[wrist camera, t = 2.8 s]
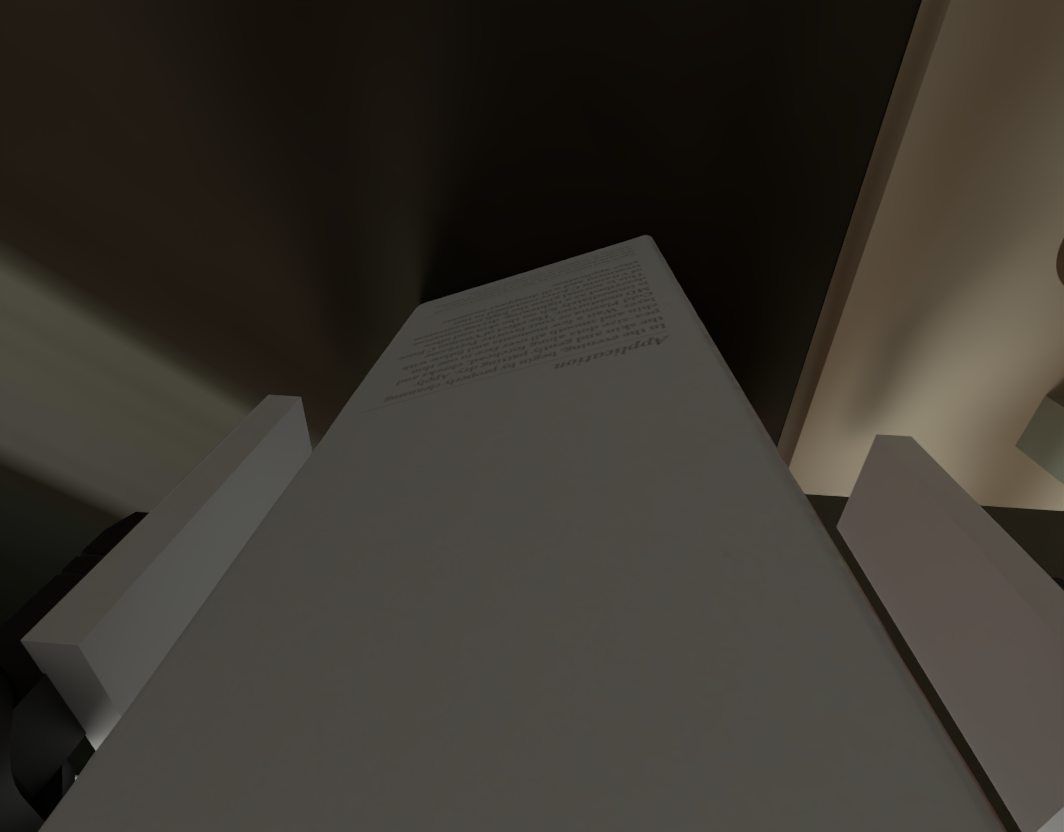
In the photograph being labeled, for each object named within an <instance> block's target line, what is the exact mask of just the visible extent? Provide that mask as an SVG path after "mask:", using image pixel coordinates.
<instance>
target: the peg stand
mask: <svg viewBox="0 0 1064 832" xmlns="http://www.w3.org/2000/svg"><path fill="white" fill-rule="evenodd" d="M876 434H881V435H897V436H912V438H913V439H914V440H915V441H916V442H917V443H918V444H919V445H920V446H921V447H922V448H923V449H924V450H925V451H926V452H927V453H928V454H929V455H930V456H931V457H932V458H933V459H934V460H935V461H936V462H937V463H938V464H939V465H940V466H941V467H942V468H943V469H944V470H945V471H946V472H947V473H948V474H949V475H950V476H951V477H952V478H953V479H954V480H955V481H956V482H957V483H958V484H959V485H960V486H961V487H962V488H963V489H964V490H965V491H966V492H967V493H968V494H969V495H970V496H971V497H972V498H973V499H974V500H975V501H976V502H977V503H978V504H979V505H982V506H998V507H1013V508H1028V509H1043V510H1058V511H1064V0H922V2H921V5H920V8H919V11H918V14H917V17H916V20H915V23H914V26H913V30H912V33H911V36H910V39H909V42H908V45H907V48H906V51H905V54H904V57H903V60H902V63H901V67H900V70H899V73H898V76H897V79H896V82H895V85H894V88H893V91H892V94H891V97H890V100H889V104H888V107H887V110H886V113H885V116H884V119H883V122H882V125H881V128H880V131H879V134H878V137H877V141H876V144H875V147H874V150H873V153H872V156H871V159H870V162H869V165H868V168H867V171H866V174H865V178H864V181H863V184H862V187H861V190H860V193H859V196H858V199H857V202H856V205H855V208H854V211H853V215H852V218H851V221H850V224H849V227H848V230H847V233H846V236H845V239H844V242H843V245H842V248H841V252H840V255H839V258H838V261H837V264H836V267H835V270H834V273H833V276H832V279H831V282H830V285H829V289H828V292H827V295H826V298H825V301H824V304H823V307H822V310H821V313H820V316H819V319H818V322H817V326H816V329H815V332H814V335H813V338H812V341H811V344H810V347H809V350H808V353H807V356H806V359H805V363H804V366H803V369H802V372H801V375H800V378H799V381H798V384H797V387H796V390H795V393H794V396H793V400H792V403H791V406H790V409H789V412H788V415H787V418H786V421H785V424H784V427H783V430H782V433H781V437H780V440H779V443H778V446H777V449H778V451H779V452H780V454H781V456H782V457H783V459H784V461H785V463H786V464H787V466H788V468H789V470H790V472H791V473H792V475H793V476H794V478H795V480H796V481H797V483H798V484H799V486H800V488H801V489H802V491H803V492H804V494H815V495H831V496H846V497H850V495H851V492H852V490H853V488H854V485H855V483H856V481H857V478H858V476H859V474H860V471H861V469H862V467H863V464H864V462H865V460H866V457H867V455H868V453H869V450H870V448H871V446H872V443H873V441H874V439H875V436H876Z"/></svg>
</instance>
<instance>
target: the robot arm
mask: <svg viewBox="0 0 1064 832" xmlns="http://www.w3.org/2000/svg"><path fill="white" fill-rule="evenodd" d="M311 453H312V448H311V444H310V439H309V434H308V429H307V424H306V419H305V414H304V410H303V405H302V400H301V397H295V396H280V395H268V396H267V397H266V398H265V399H264V400H263V401H262V402H261V403H260V404H259V405H258V406H257V407H256V408H255V409H254V410H253V411H252V412H251V413H250V414H249V415H248V416H247V417H246V418H245V419H244V420H243V421H242V422H241V423H240V424H239V425H238V426H237V427H236V428H235V429H234V430H233V431H231V432H230V433H229V434H228V435H227V436H226V437H225V438H224V439H223V440H222V441H221V442H220V443H219V444H218V445H217V446H216V447H215V448H214V449H213V450H212V451H211V452H210V453H209V454H208V455H207V456H206V457H205V458H204V459H203V460H202V461H201V462H200V463H199V464H198V465H197V466H196V467H195V468H194V469H193V470H192V471H191V472H190V473H189V474H188V475H187V476H186V477H185V478H184V479H183V480H182V481H181V482H180V483H179V484H178V485H177V486H176V487H175V488H174V489H173V490H172V491H171V492H170V493H169V494H168V495H167V496H166V497H165V498H164V499H163V500H162V501H161V502H160V503H159V504H158V505H157V506H156V507H155V508H154V509H153V510H152V511H151V512H150V513H145V512H135V513H133V514H131V515H130V516H128V517H126V518H124V519H123V520H121V521H119V522H118V523H116V524H114V525H113V526H111V527H109V528H107V529H106V530H104V531H103V532H102V533H101V534H100V535H99V536H98V537H97V538H96V539H95V540H94V541H93V542H91V543H90V544H89V545H88V546H87V547H86V548H85V549H84V550H83V551H82V552H81V556H80V557H77V556H76V557H75V558H74V559H73V560H72V561H71V562H70V563H69V564H68V565H67V566H66V567H65V568H64V569H62V570H61V571H62V573H61V575H60V576H59V575H56V576H55V577H54V578H53V579H52V580H51V581H50V582H49V583H47V584H46V585H45V586H44V587H43V588H42V589H41V590H40V591H39V592H38V593H37V594H36V595H35V596H34V597H32V598H31V599H30V600H29V601H28V602H27V603H26V604H25V605H24V606H23V607H22V608H21V609H20V610H19V611H17V612H16V613H15V614H14V615H13V616H12V617H11V618H10V619H9V620H8V621H7V622H6V623H5V624H3V625H2V626H1V627H0V832H38V831H39V830H40V828H41V827H42V825H43V824H44V823H45V821H46V820H47V819H48V817H49V816H50V815H51V813H52V812H53V811H54V809H55V808H56V806H57V805H58V804H59V802H60V801H61V800H62V798H63V797H64V796H65V794H66V793H67V792H68V790H69V789H70V787H71V786H72V785H73V783H74V782H75V770H74V768H73V765H72V762H71V759H70V758H69V755H70V754H71V753H72V751H73V750H74V749H75V747H76V746H77V745H78V743H79V742H80V741H81V739H82V738H83V737H84V736H85V735H86V737H87V738H88V740H89V741H90V743H91V744H92V746H93V747H94V749H95V750H97V749H98V748H99V746H100V745H101V744H102V742H103V741H104V740H105V738H106V737H107V736H108V734H109V733H110V732H111V730H112V729H113V728H114V726H115V725H116V724H117V722H118V721H119V720H120V718H121V717H122V716H123V714H124V713H125V711H126V710H127V709H128V707H129V706H130V704H131V703H132V702H133V700H134V699H135V698H136V696H137V695H138V693H139V692H140V691H141V689H142V688H143V687H144V685H145V684H146V682H147V681H148V680H149V678H150V677H151V675H152V674H153V673H154V671H155V670H156V669H157V667H158V666H159V664H160V663H161V662H162V660H163V659H164V657H165V656H166V655H167V653H168V652H169V650H170V649H171V648H172V646H173V645H174V643H175V642H176V641H177V639H178V638H179V636H180V635H181V634H182V632H183V631H184V629H185V628H186V627H187V625H188V624H189V622H190V621H191V620H192V618H193V617H194V615H195V614H196V613H197V611H198V610H199V608H200V607H201V606H202V604H203V603H204V601H205V600H206V599H207V597H208V596H209V594H210V593H211V592H212V590H213V589H214V587H215V586H216V585H217V583H218V582H219V580H220V579H221V578H222V576H223V575H224V573H225V572H226V571H227V569H228V568H229V566H230V565H231V564H232V562H233V561H234V559H235V558H236V557H237V555H238V554H239V552H240V551H241V550H242V548H243V547H244V545H245V544H246V543H247V541H248V540H249V538H250V537H251V536H252V534H253V533H254V531H255V530H256V529H257V527H258V526H259V524H260V523H261V522H262V520H263V519H264V517H265V516H266V515H267V513H268V512H269V511H270V509H271V508H272V507H273V505H274V504H275V502H276V501H277V500H278V498H279V497H280V496H281V494H282V493H283V492H284V490H285V489H286V488H287V486H288V485H289V483H290V482H291V481H292V479H293V478H294V476H295V475H296V473H297V472H298V471H299V469H300V468H301V467H302V466H303V465H304V463H305V462H306V460H307V459H308V458H309V456H310V455H311ZM837 529H838V530H839V532H840V533H841V535H842V537H843V538H844V540H845V542H846V543H847V545H848V547H849V548H850V550H851V552H852V553H853V555H854V556H855V558H856V560H857V561H858V563H859V565H860V566H861V568H862V570H863V571H864V573H865V575H866V576H867V578H868V580H869V581H870V583H871V584H872V586H873V588H874V589H875V591H876V593H877V594H878V596H879V598H880V599H881V601H882V603H883V604H884V606H885V607H886V609H887V611H888V612H889V614H890V616H891V617H892V619H893V621H894V622H895V624H896V626H897V627H898V629H899V630H900V632H901V634H902V635H903V637H904V639H905V640H906V642H907V644H908V645H909V647H910V649H911V650H912V652H913V654H914V655H915V657H916V658H917V660H918V662H919V663H920V665H921V667H922V668H923V670H924V672H925V673H926V675H927V677H928V678H929V680H930V681H931V683H932V685H933V686H934V688H935V690H936V691H937V693H938V695H939V696H940V698H941V700H942V701H943V703H944V704H945V706H946V708H947V709H948V711H949V713H950V714H951V716H952V718H953V719H954V721H955V723H956V724H957V726H958V728H959V729H960V731H961V732H962V734H963V736H964V737H965V739H966V741H967V742H968V744H969V746H970V747H971V749H972V751H973V752H974V754H975V755H976V757H977V759H978V760H979V762H980V764H981V765H982V767H983V769H984V770H985V772H986V774H987V775H988V777H989V778H990V780H991V782H992V783H993V785H994V787H995V788H996V790H997V792H998V793H999V795H1000V797H1001V798H1002V800H1003V802H1004V803H1005V805H1006V806H1007V808H1008V810H1009V811H1010V813H1011V815H1012V816H1013V818H1014V820H1015V821H1016V823H1017V825H1018V826H1019V828H1020V829H1021V831H1022V832H1064V581H1063V580H1062V579H1060V578H1052V577H1050V576H1049V575H1048V574H1047V573H1046V572H1045V571H1044V570H1043V569H1042V568H1041V567H1040V566H1039V565H1038V564H1037V563H1036V562H1035V561H1034V560H1033V559H1032V558H1031V557H1030V556H1029V555H1028V554H1027V553H1026V552H1025V551H1024V550H1023V549H1022V548H1021V547H1020V546H1019V545H1018V544H1017V543H1016V542H1015V541H1014V540H1013V539H1012V538H1011V537H1010V536H1009V535H1008V534H1007V533H1006V532H1005V531H1004V530H1003V529H1002V528H1001V527H1000V526H999V525H998V524H997V523H996V522H995V521H994V520H993V519H992V518H991V517H990V515H989V514H988V513H987V512H986V511H985V510H984V509H983V508H982V507H981V506H980V505H979V504H978V503H977V502H976V501H975V500H974V499H973V498H972V497H971V496H970V495H969V494H968V493H967V492H966V491H965V490H964V489H963V488H962V487H961V486H960V485H959V484H958V483H957V482H956V481H955V480H954V479H953V478H952V477H951V476H950V475H949V474H948V473H947V472H946V471H945V470H944V469H943V468H942V467H941V466H940V465H939V464H938V463H937V462H936V461H935V460H934V459H933V458H932V457H931V456H930V455H929V454H928V453H927V452H926V451H925V450H924V449H923V448H922V447H921V446H920V445H919V444H918V443H917V442H916V441H915V440H914V439H913V438H912V436H897V435H881V434H876V436H875V439H874V441H873V443H872V446H871V448H870V450H869V453H868V455H867V457H866V460H865V462H864V464H863V467H862V469H861V471H860V474H859V476H858V478H857V481H856V483H855V485H854V488H853V490H852V492H851V495H850V497H849V499H848V502H847V504H846V506H845V509H844V511H843V513H842V516H841V518H840V520H839V523H838V525H837Z"/></svg>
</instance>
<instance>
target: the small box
mask: <svg viewBox="0 0 1064 832" xmlns="http://www.w3.org/2000/svg"><path fill="white" fill-rule="evenodd" d="M38 832H1007V831H1006V829H1005V828H1004V826H1003V824H1002V822H1001V821H1000V819H999V817H998V816H997V814H996V812H995V811H994V809H993V807H992V805H991V804H990V802H989V800H988V799H987V797H986V795H985V794H984V792H983V790H982V789H981V787H980V785H979V783H978V782H977V780H976V778H975V777H974V775H973V773H972V772H971V770H970V769H969V767H968V766H967V764H966V762H965V761H964V759H963V758H962V756H961V754H960V753H959V751H958V750H957V748H956V747H955V745H954V743H953V742H952V740H951V739H950V737H949V735H948V733H947V732H946V730H945V728H944V727H943V725H942V723H941V722H940V720H939V718H938V717H937V715H936V713H935V712H934V710H933V708H932V706H931V705H930V703H929V701H928V700H927V698H926V696H925V695H924V693H923V691H922V690H921V688H920V687H919V685H918V683H917V682H916V680H915V679H914V677H913V675H912V674H911V672H910V671H909V669H908V667H907V666H906V664H905V663H904V661H903V659H902V657H901V656H900V654H899V652H898V650H897V649H896V647H895V645H894V643H893V642H892V640H891V638H890V636H889V634H888V633H887V631H886V629H885V627H884V626H883V624H882V622H881V621H880V619H879V617H878V616H877V614H876V612H875V611H874V609H873V607H872V605H871V604H870V602H869V600H868V599H867V597H866V595H865V594H864V592H863V590H862V589H861V587H860V585H859V584H858V582H857V580H856V579H855V577H854V575H853V573H852V572H851V570H850V568H849V567H848V565H847V563H846V562H845V560H844V559H843V557H842V555H841V554H840V552H839V550H838V549H837V547H836V545H835V544H834V542H833V541H832V539H831V537H830V536H829V534H828V532H827V531H826V529H825V527H824V525H823V524H822V522H821V520H820V519H819V517H818V515H817V513H816V512H815V510H814V508H813V507H812V505H811V503H810V502H809V500H808V499H807V497H806V495H805V494H804V492H803V491H802V489H801V488H800V486H799V484H798V483H797V481H796V480H795V478H794V476H793V475H792V473H791V472H790V470H789V468H788V466H787V464H786V463H785V461H784V459H783V457H782V456H781V454H780V452H779V451H778V449H777V447H776V446H775V444H774V442H773V441H772V439H771V437H770V435H769V434H768V432H767V430H766V429H765V427H764V425H763V423H762V422H761V420H760V418H759V417H758V415H757V413H756V412H755V410H754V409H753V407H752V405H751V404H750V402H749V400H748V399H747V397H746V395H745V394H744V392H743V390H742V389H741V387H740V385H739V383H738V382H737V380H736V378H735V377H734V375H733V373H732V372H731V370H730V368H729V367H728V365H727V363H726V362H725V360H724V358H723V357H722V355H721V353H720V352H719V350H718V348H717V347H716V345H715V343H714V342H713V340H712V338H711V337H710V335H709V333H708V331H707V329H706V328H705V326H704V324H703V323H702V321H701V320H700V318H699V317H698V315H697V313H696V311H695V310H694V308H693V306H692V304H691V303H690V301H689V299H688V298H687V296H686V295H685V293H684V291H683V289H682V288H681V286H680V284H679V283H678V281H677V280H676V278H675V276H674V274H673V272H672V271H671V269H670V267H669V266H668V264H667V262H666V260H665V258H664V257H663V255H662V254H661V252H660V250H659V249H658V247H657V245H656V243H655V242H654V240H653V238H652V237H651V236H649V235H643V236H640V237H637V238H634V239H631V240H628V241H624V242H621V243H618V244H615V245H612V246H608V247H605V248H602V249H599V250H595V251H592V252H589V253H586V254H582V255H579V256H576V257H573V258H569V259H566V260H563V261H560V262H557V263H553V264H550V265H547V266H544V267H540V268H537V269H534V270H531V271H527V272H524V273H521V274H518V275H514V276H511V277H508V278H505V279H502V280H498V281H495V282H492V283H488V284H485V285H482V286H478V287H475V288H472V289H468V290H465V291H462V292H459V293H456V294H452V295H449V296H446V297H442V298H439V299H436V300H432V301H429V302H426V303H423V304H421V305H419V306H418V307H417V308H416V309H415V311H414V312H413V313H412V315H411V316H410V317H409V319H408V320H407V321H406V323H405V324H404V325H403V327H402V328H401V329H400V331H399V332H398V333H397V335H396V336H395V338H394V339H393V340H392V342H391V343H390V344H389V346H388V347H387V349H386V350H385V351H384V353H383V354H382V355H381V357H380V358H379V359H378V361H377V362H376V364H375V365H374V366H373V368H372V369H371V370H370V372H369V373H368V374H367V376H366V377H365V379H364V380H363V382H362V383H361V385H360V386H359V387H358V389H357V390H356V391H355V392H354V394H353V395H352V397H351V398H350V399H349V401H348V402H347V404H346V405H345V407H344V408H343V409H342V411H341V412H340V414H339V415H338V417H337V418H336V420H335V421H334V422H333V424H332V426H331V427H330V429H329V430H328V432H327V433H326V434H325V436H324V437H323V438H322V440H321V441H320V442H319V444H318V445H317V446H316V448H315V449H314V451H313V452H312V453H311V455H310V456H309V458H308V459H307V460H306V462H305V463H304V465H303V466H302V467H301V468H300V469H299V471H298V472H297V473H296V475H295V476H294V478H293V479H292V481H291V482H290V483H289V485H288V486H287V488H286V489H285V490H284V492H283V493H282V494H281V496H280V497H279V498H278V500H277V501H276V502H275V504H274V505H273V507H272V508H271V509H270V511H269V512H268V513H267V515H266V516H265V517H264V519H263V520H262V522H261V523H260V524H259V526H258V527H257V529H256V530H255V531H254V533H253V534H252V536H251V537H250V538H249V540H248V541H247V543H246V544H245V545H244V547H243V548H242V550H241V551H240V552H239V554H238V555H237V557H236V558H235V559H234V561H233V562H232V564H231V565H230V566H229V568H228V569H227V571H226V572H225V573H224V575H223V576H222V578H221V579H220V580H219V582H218V583H217V585H216V586H215V587H214V589H213V590H212V592H211V593H210V594H209V596H208V597H207V599H206V600H205V601H204V603H203V604H202V606H201V607H200V608H199V610H198V611H197V613H196V614H195V615H194V617H193V618H192V620H191V621H190V622H189V624H188V625H187V627H186V628H185V629H184V631H183V632H182V634H181V635H180V636H179V638H178V639H177V641H176V642H175V643H174V645H173V646H172V648H171V649H170V650H169V652H168V653H167V655H166V656H165V657H164V659H163V660H162V662H161V663H160V664H159V666H158V667H157V669H156V670H155V671H154V673H153V674H152V675H151V677H150V678H149V680H148V681H147V682H146V684H145V685H144V687H143V688H142V689H141V691H140V692H139V693H138V695H137V696H136V698H135V699H134V700H133V702H132V703H131V704H130V706H129V707H128V709H127V710H126V711H125V713H124V714H123V716H122V717H121V718H120V720H119V721H118V722H117V724H116V725H115V726H114V728H113V729H112V730H111V732H110V733H109V734H108V736H107V737H106V738H105V740H104V741H103V742H102V744H101V745H100V746H99V748H98V749H97V750H96V752H95V753H94V754H93V756H92V757H91V759H90V760H89V761H88V763H87V764H86V766H85V767H84V769H83V770H82V772H81V773H80V775H79V776H78V778H77V779H76V780H75V782H74V783H73V785H72V786H71V787H70V789H69V790H68V792H67V793H66V794H65V796H64V797H63V798H62V800H61V801H60V802H59V804H58V805H57V806H56V808H55V809H54V811H53V812H52V813H51V815H50V816H49V817H48V819H47V820H46V821H45V823H44V824H43V825H42V827H41V828H40V830H39V831H38Z"/></svg>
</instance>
